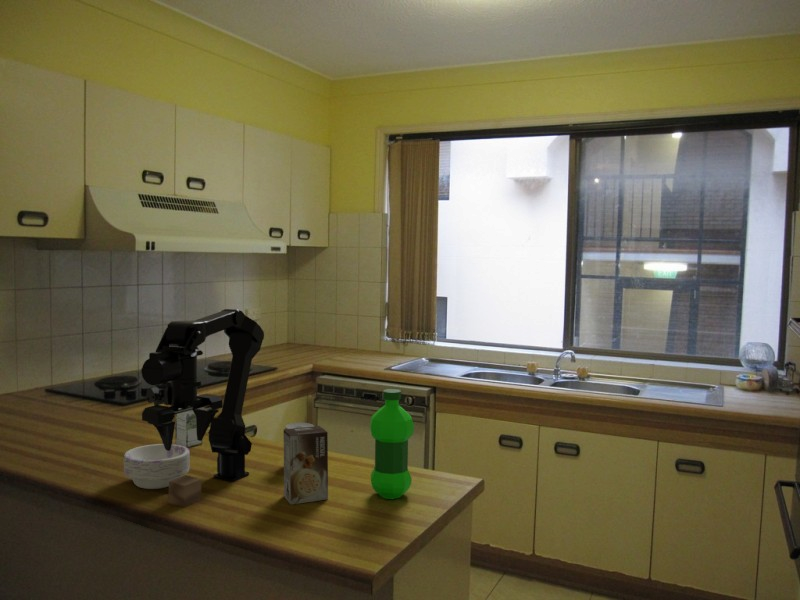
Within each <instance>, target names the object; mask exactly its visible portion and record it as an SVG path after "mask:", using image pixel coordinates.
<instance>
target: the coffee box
mask: <svg viewBox="0 0 800 600" xmlns="http://www.w3.org/2000/svg"><path fill="white" fill-rule="evenodd" d="M328 433H329V432H328V431H327V430H326V429H325V428H324V427H322V426H320V425H317V426H315V425H314V427H303V428H292V429H285V428H284V429H283V495H284V498H285V499H286V500H287V502H288V503H289V505H291V506H292V505H298V504H305V503H310V502H312V503H313V502H319V501H325V500H329V462H328V461H329V456H328V455H329V453H328V452H329V451H328V450H329V448H328V447H329V446H328V445H329V443H328V441H329V439H328Z"/></svg>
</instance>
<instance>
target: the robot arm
mask: <svg viewBox="0 0 800 600" xmlns="http://www.w3.org/2000/svg"><path fill="white" fill-rule="evenodd" d="M222 331H223V332H224V334H225V335H226V336H227V337H228V347H229V349H230V352H231V355H232V358H231V361H230V369H229V372H228V377H227V383H226V387H225V393H224V398H223V399H222V397H221V396H220V395H218V394H211V393H203V394H198V387H201V386H202V381H201V380H200V381H199V380H198V356H203V354H204V351H202V350H201V349H199V347H198V346H200V345H202V344H203V343H204V342H206V338H207V337H209V336H211V335H214V334H217V333H219V332H222ZM264 339H265V332H264V330H263V328H262V327H261V325H260V324H259V323H257V321H255V320H253V319H252V318H250V317H249V316H248V315H246V314H245V313H244V312H243V311H242V310H240V309H236V308H224V309H222V310H221V311H219V312H216V313H212V314H210V315H206V316H204V317H200V318H198V319H195V320H173V321H170V322H169V323H168V324H167V325H166V329H165V330H164V332H163V335H162V337H161V339H160V341H159V343H158V345H157V347H156V349H155V351H153V352H149V354H148V355H149V356H148V359H147V360H145V361H144V362H143V364H142V367H141V370H140V372H141V376H142V378H143V380H144V381H145V383H146V384H148V385H151V386H155V387H151V388H147V389H146V395H145V397H146V401H147V403H148V404H153V405H151V406H146V407H144V409H143V410H142V411H141V412H142V413H141V421H142V422H143V421H144V422H147V424H149V425H152V426H154V428H156V430H157V432H158V434H159V436H160V438H161V441H162V444H164V447H165V449H166V450H167V451H170V450H171V446H172V444H173V440H174V439H173V438H174V435H175V421H174V419H175V414H178V413H182V412H186V411H190V410H193V412H194V414H195V416H196V428H197V440H199V441H202V439H204V437H205V435H206V433H207V434H208V442H209V445H210V450H211V452H212V453H215V454H216V453H217V456H216V458H217V460H216V464H217V467H216V473H214V474H213V478H216V479H220V480H224V481H229V482H234V481H236V480H239V479H241V478H243V477H246V476H249V475H250V472H249V471H246V456H248V455H249V453H250V452H251V451H252V445H253V443H252V441H251V440H250V439H249V437H248V436H247V435H246V424H245V421H244V418H243V415H242V412H243V407H244V402H245V398H246V397H245V396H246V392H247V386H248V382H249V377H250V371H251V365H252V361H253V359H254V358H255V357H256V355H258V353H259V352H260V350H261V347H262V345H263V340H264ZM164 383H166V384H165V388H164V389H163V388H162V389H159V388H158V387H156V386H157V385H160V384H164ZM197 395H198V396H197ZM189 406H190V407H189ZM179 408H181V409H179ZM219 409H221V411H220V410H219ZM219 411H220V413H219ZM217 413H219V414H218V415H217V417H215V416H216V414H217ZM209 426H210V427H209ZM208 428H209V430H208ZM207 431H208V432H207Z"/></svg>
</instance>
